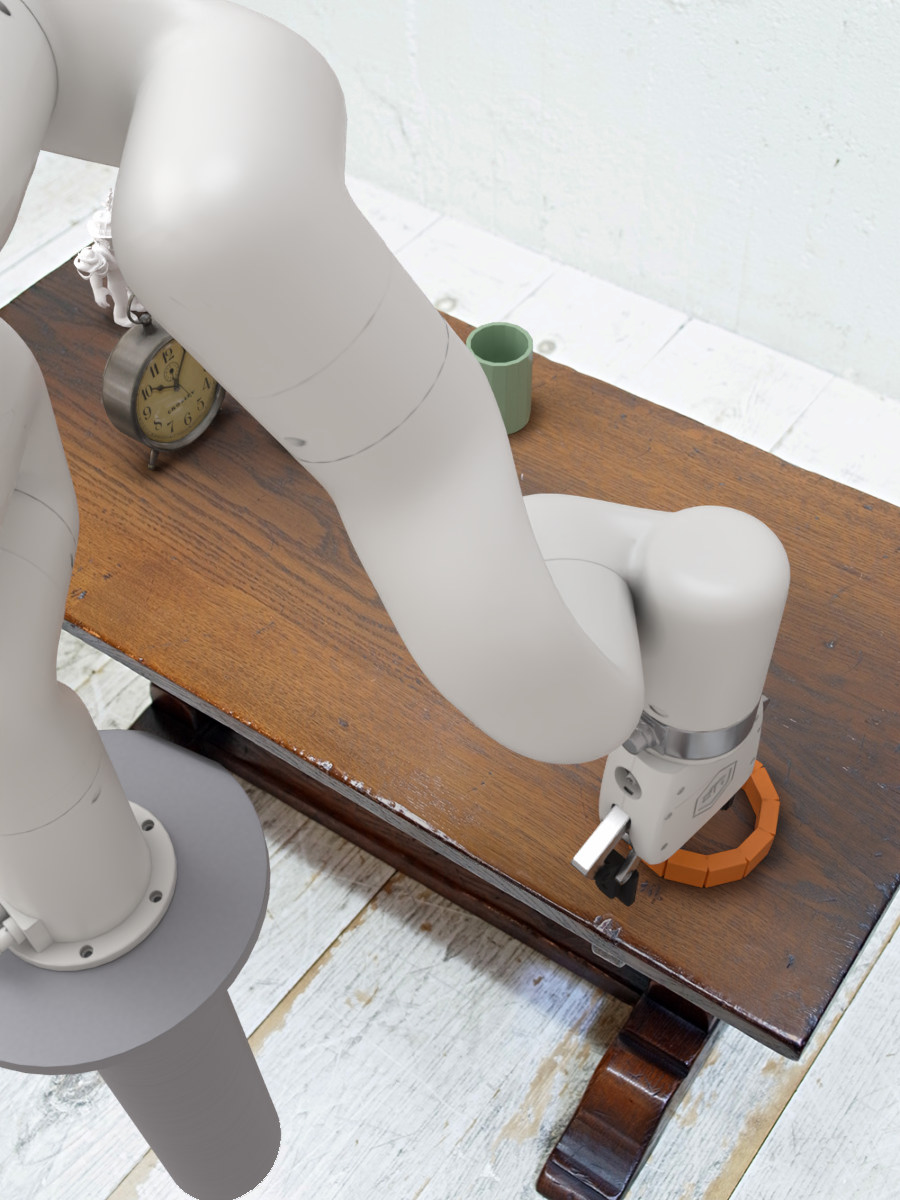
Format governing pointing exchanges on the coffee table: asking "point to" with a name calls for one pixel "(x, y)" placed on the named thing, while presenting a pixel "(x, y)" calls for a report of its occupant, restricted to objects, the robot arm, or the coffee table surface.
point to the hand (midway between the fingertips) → (662, 841)
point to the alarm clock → (158, 389)
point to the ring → (734, 861)
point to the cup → (506, 368)
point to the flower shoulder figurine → (106, 267)
